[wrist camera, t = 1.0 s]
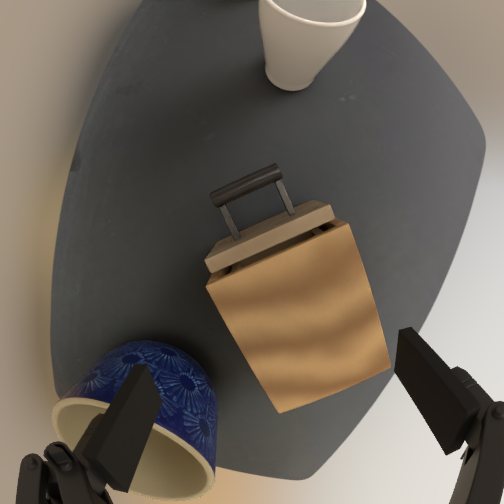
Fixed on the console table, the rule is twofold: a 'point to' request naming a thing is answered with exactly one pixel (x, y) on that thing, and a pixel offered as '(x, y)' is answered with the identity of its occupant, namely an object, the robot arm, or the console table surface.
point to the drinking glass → (304, 37)
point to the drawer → (263, 223)
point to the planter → (167, 421)
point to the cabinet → (304, 318)
